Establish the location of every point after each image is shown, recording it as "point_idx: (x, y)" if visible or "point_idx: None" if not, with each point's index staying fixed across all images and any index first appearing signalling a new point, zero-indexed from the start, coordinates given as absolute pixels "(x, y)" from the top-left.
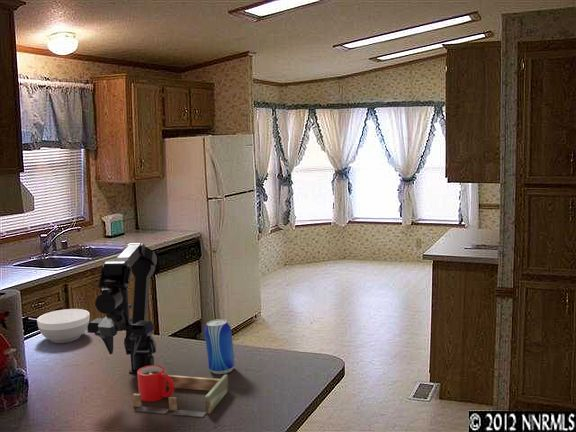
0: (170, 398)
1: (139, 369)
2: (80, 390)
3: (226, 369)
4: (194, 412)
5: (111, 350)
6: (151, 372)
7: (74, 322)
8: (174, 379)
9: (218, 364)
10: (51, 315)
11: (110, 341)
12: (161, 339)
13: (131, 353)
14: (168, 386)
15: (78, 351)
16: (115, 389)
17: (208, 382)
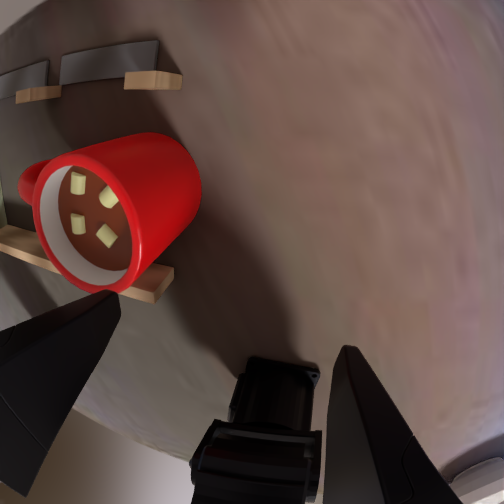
0: (26, 89)
1: (135, 239)
2: (475, 241)
3: None
4: (9, 90)
5: (339, 382)
6: (117, 258)
7: (470, 501)
8: None
9: None
10: (495, 499)
11: (344, 478)
12: None
13: (100, 300)
14: None
15: (465, 447)
16: (335, 245)
17: (13, 241)
